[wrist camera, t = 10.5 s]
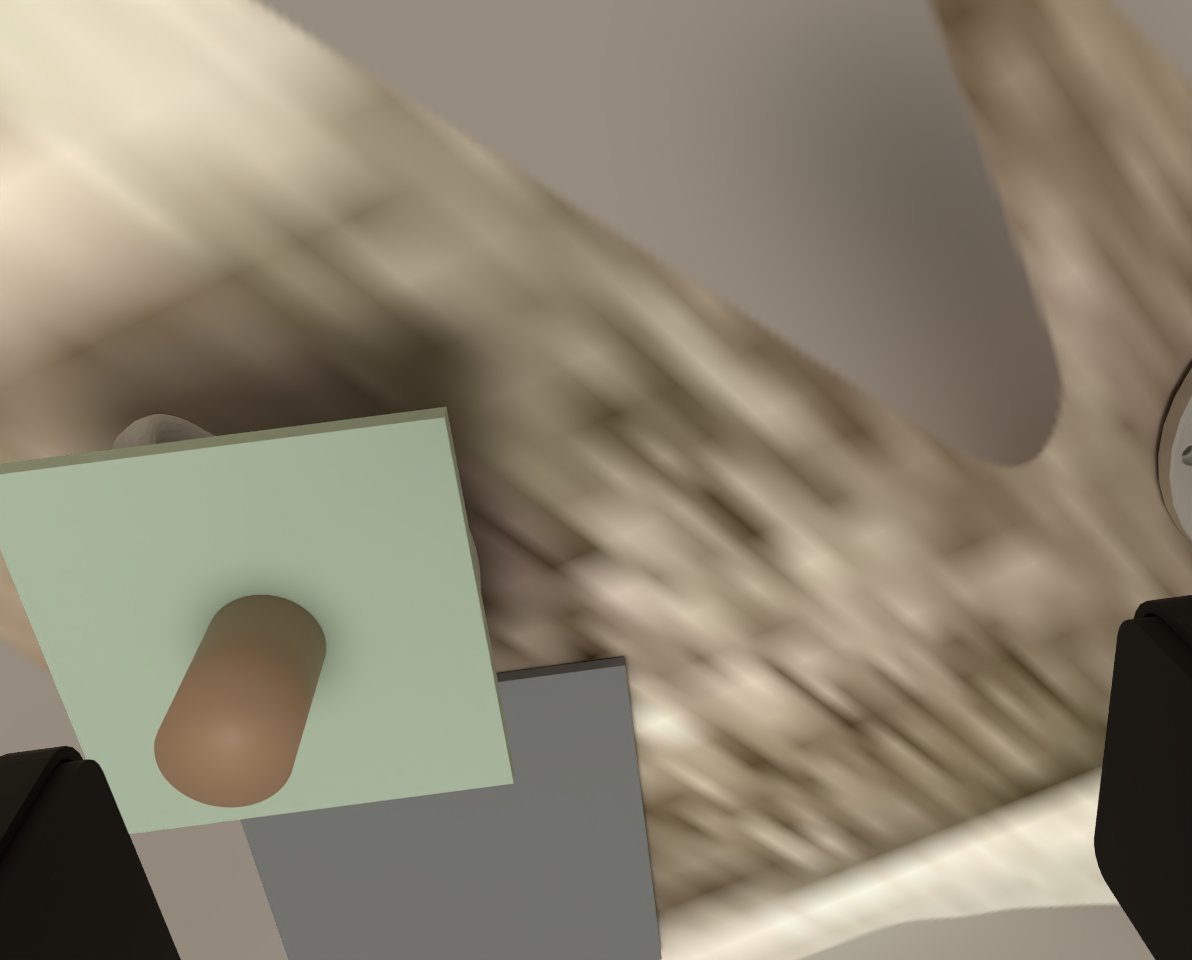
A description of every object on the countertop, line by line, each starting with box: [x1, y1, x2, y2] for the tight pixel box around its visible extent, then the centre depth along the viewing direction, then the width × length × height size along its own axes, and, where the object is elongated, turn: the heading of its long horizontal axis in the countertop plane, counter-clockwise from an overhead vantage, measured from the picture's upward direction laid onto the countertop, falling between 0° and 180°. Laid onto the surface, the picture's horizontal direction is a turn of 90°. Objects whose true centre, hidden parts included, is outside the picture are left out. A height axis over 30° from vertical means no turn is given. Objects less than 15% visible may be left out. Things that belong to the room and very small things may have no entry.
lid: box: [0, 407, 514, 834], centre depth 30 cm, size 13×13×6 cm
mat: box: [240, 657, 662, 960], centre depth 47 cm, size 17×17×1 cm
